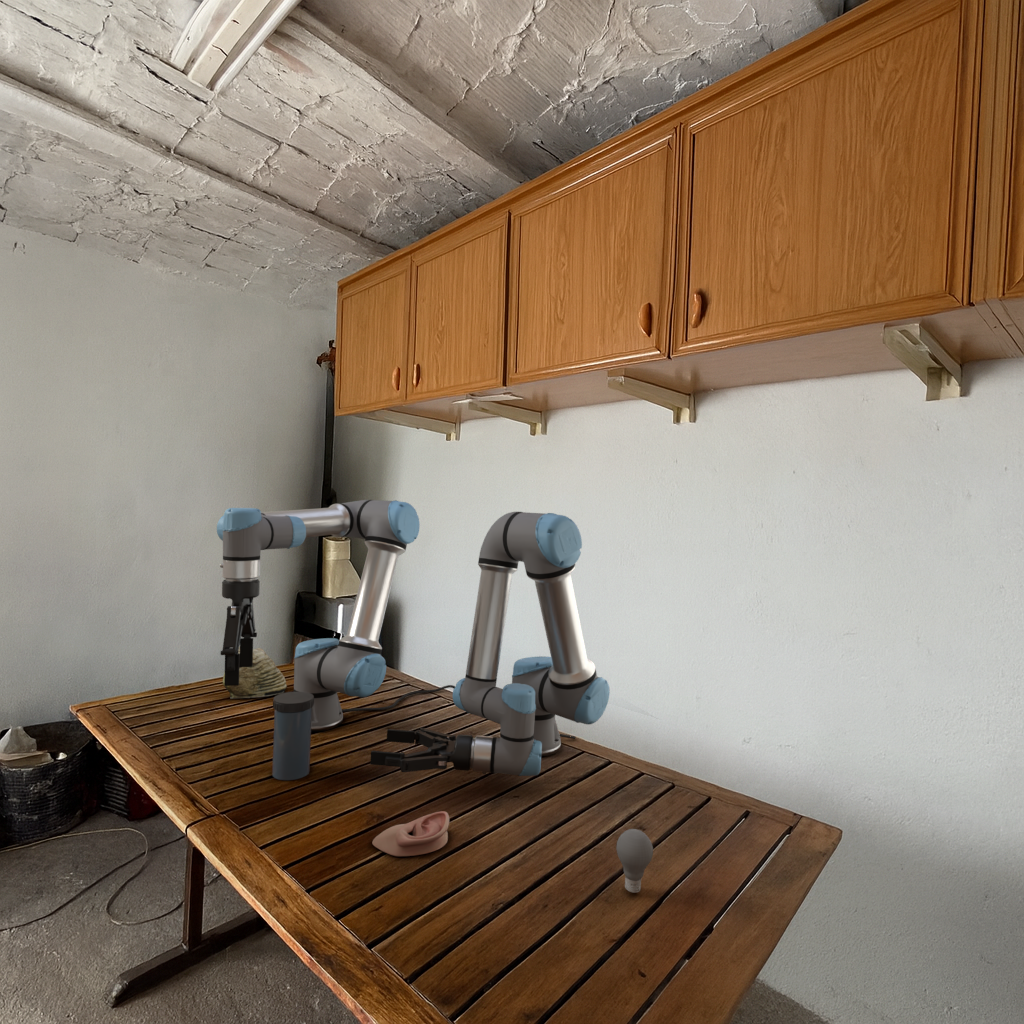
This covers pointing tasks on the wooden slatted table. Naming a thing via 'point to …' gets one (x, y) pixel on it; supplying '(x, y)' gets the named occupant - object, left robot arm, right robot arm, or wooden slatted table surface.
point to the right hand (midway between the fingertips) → (379, 745)
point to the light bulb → (634, 857)
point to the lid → (293, 702)
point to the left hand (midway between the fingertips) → (239, 675)
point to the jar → (291, 744)
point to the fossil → (258, 678)
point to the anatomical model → (415, 836)
